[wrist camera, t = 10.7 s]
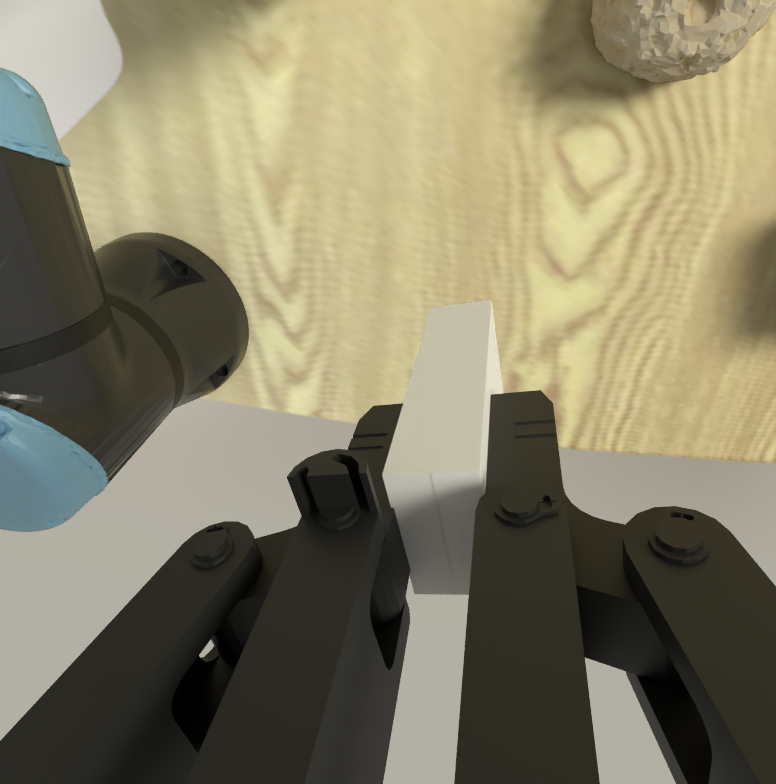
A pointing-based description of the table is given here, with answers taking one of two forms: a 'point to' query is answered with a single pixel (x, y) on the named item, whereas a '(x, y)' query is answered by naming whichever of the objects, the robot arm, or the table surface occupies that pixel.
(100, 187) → the table surface
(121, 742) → the robot arm
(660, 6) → the sponge
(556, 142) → the table surface
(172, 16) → the table surface
